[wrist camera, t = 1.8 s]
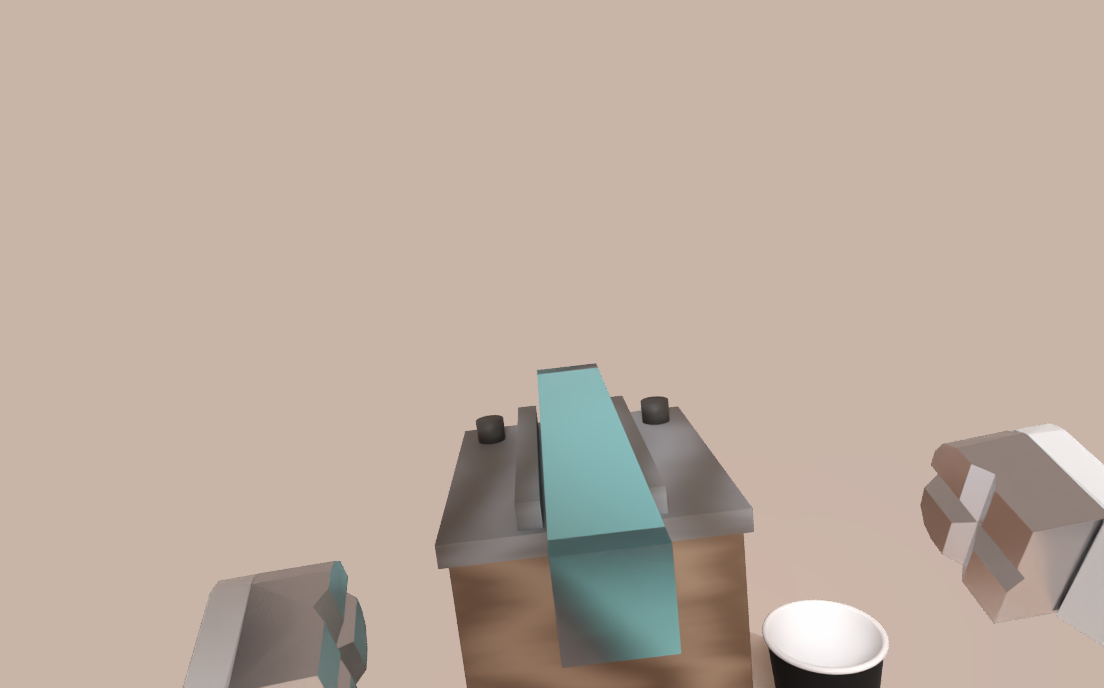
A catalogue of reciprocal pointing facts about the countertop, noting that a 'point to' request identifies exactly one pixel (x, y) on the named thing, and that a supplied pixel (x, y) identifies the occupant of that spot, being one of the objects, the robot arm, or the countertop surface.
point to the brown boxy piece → (524, 572)
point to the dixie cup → (824, 646)
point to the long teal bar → (602, 529)
